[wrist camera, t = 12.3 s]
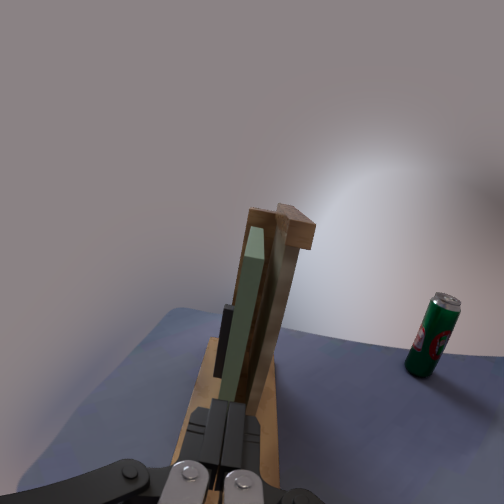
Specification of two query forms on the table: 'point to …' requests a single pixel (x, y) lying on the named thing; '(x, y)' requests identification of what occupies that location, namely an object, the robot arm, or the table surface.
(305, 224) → the door frame
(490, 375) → the table surface
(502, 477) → the table surface
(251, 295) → the door
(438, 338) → the soda can
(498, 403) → the table surface
